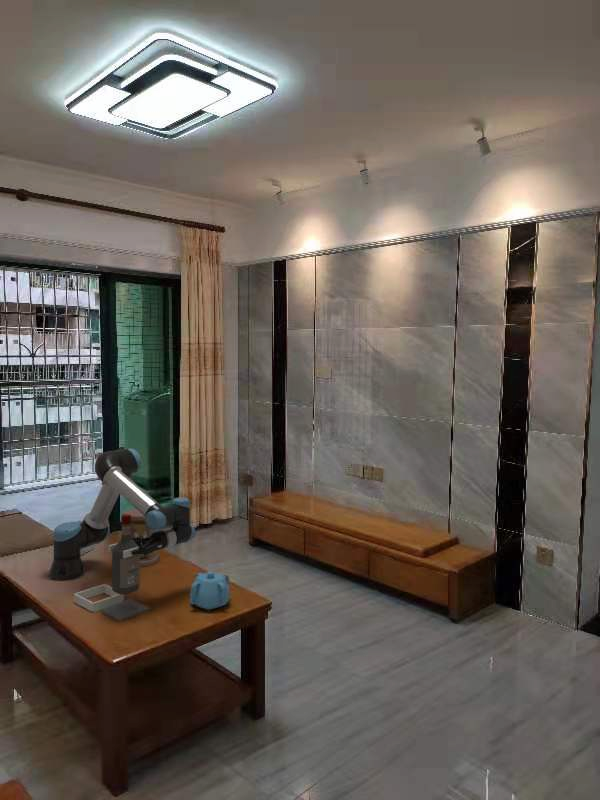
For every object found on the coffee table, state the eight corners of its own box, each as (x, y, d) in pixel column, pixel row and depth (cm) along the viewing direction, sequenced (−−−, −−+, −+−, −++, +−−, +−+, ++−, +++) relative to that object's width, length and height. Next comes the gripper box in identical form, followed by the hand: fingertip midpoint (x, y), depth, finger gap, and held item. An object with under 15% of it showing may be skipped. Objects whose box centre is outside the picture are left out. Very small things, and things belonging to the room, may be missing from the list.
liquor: (142, 589, 231) (143, 515, 229) (122, 596, 224) (123, 519, 222) (128, 583, 237) (129, 511, 235) (109, 590, 230) (109, 515, 228)
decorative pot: (233, 598, 247) (234, 566, 246) (224, 614, 231) (225, 580, 230) (196, 595, 248) (197, 564, 248) (185, 611, 232) (185, 577, 232)
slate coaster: (100, 611, 230) (100, 609, 230) (130, 601, 240) (130, 598, 240) (119, 621, 221) (119, 619, 221) (149, 610, 232) (149, 607, 232)
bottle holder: (73, 602, 238) (73, 593, 238) (104, 591, 249) (104, 583, 249) (92, 612, 229) (92, 603, 229) (124, 601, 240) (124, 593, 240)
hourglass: (116, 560, 289) (116, 510, 288) (148, 553, 301) (148, 505, 300) (132, 569, 276) (132, 518, 275) (165, 562, 288) (165, 512, 287)
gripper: (179, 553, 237) (132, 567, 219) (146, 542, 250) (100, 555, 233) (179, 535, 236) (132, 548, 219) (147, 525, 250) (100, 536, 232)
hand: (116, 551), depth 226 cm, fingers closed on liquor, 9 cm apart
